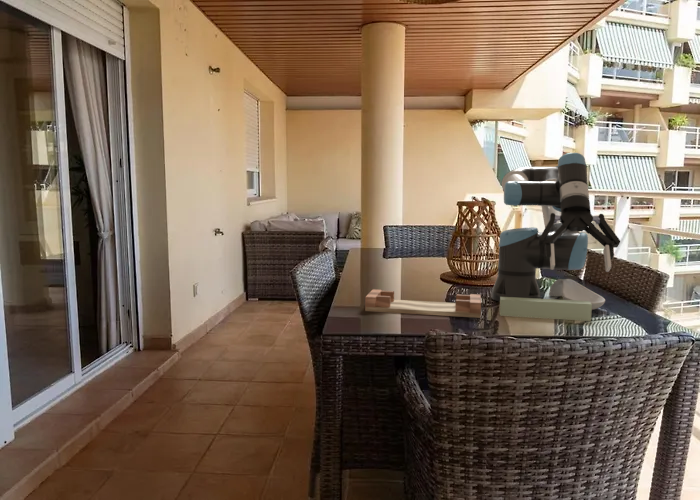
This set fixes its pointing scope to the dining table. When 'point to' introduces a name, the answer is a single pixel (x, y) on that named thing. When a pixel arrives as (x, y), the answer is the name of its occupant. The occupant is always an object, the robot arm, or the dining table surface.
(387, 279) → the dining table surface
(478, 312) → the slat cradle
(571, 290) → the spoon rest
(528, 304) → the slat
